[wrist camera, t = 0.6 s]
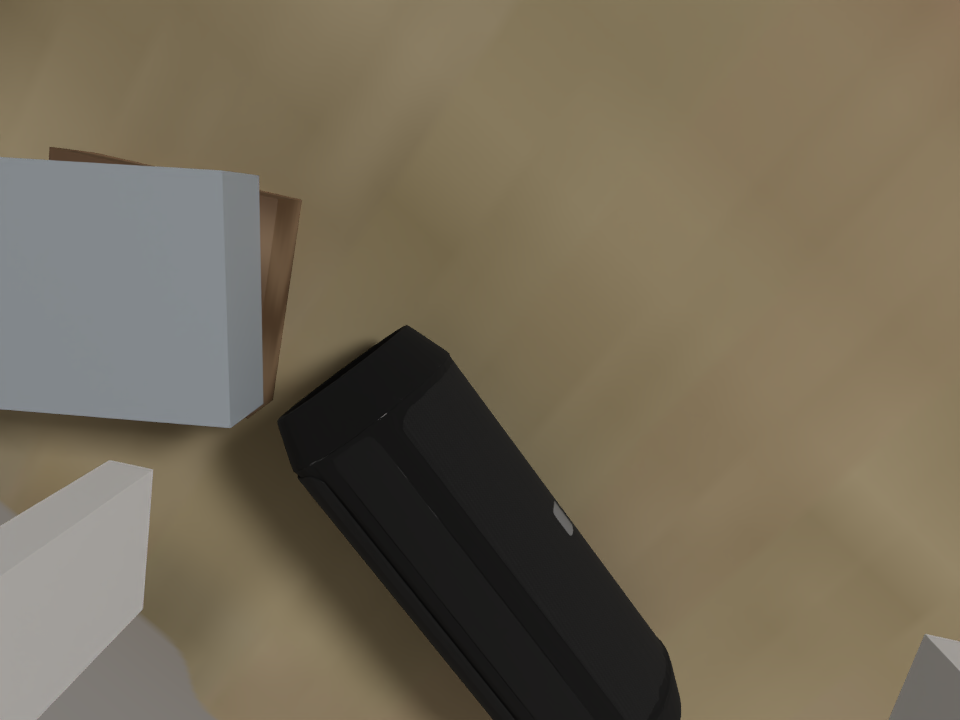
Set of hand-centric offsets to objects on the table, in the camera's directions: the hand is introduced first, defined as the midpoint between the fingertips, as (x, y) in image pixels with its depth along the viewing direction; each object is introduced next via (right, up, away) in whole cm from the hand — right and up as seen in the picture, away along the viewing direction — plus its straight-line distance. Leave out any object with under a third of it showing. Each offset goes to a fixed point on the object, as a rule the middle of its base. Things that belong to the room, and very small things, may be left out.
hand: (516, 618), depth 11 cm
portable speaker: (0, -5, +29) cm, 29 cm away
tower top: (-18, +8, +23) cm, 30 cm away
